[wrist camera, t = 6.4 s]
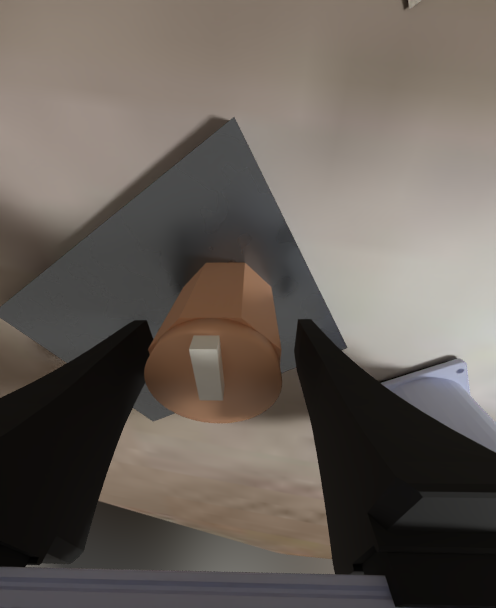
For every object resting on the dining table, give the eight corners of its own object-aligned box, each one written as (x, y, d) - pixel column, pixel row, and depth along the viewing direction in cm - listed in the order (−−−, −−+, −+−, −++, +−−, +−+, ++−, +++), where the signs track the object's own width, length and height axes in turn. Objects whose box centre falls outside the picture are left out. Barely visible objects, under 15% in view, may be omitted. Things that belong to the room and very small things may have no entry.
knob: (268, 334, 14) (279, 438, 9) (192, 334, 14) (156, 437, 9) (272, 262, 12) (291, 346, 6) (178, 262, 12) (114, 346, 6)
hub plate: (342, 337, 16) (376, 401, 11) (157, 411, 21) (133, 473, 16) (235, 121, 9) (221, 83, 5) (8, 304, 14) (-93, 361, 10)
